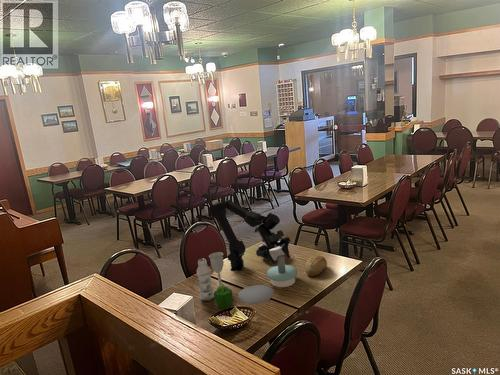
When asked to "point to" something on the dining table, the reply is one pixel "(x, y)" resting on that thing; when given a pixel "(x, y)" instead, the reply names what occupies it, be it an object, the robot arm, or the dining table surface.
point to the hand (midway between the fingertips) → (282, 261)
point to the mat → (255, 294)
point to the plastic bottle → (205, 280)
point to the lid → (281, 271)
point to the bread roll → (315, 265)
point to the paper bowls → (275, 251)
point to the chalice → (217, 264)
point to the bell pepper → (223, 297)
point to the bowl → (283, 282)
